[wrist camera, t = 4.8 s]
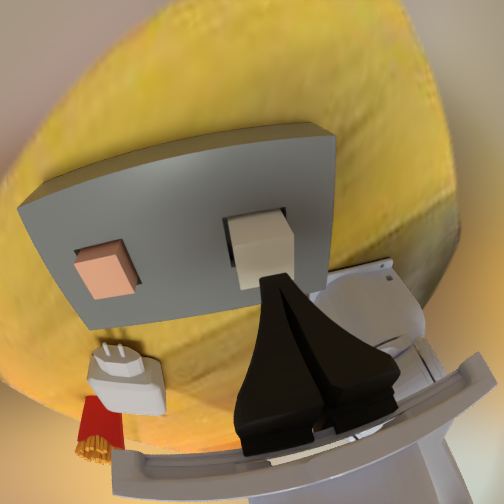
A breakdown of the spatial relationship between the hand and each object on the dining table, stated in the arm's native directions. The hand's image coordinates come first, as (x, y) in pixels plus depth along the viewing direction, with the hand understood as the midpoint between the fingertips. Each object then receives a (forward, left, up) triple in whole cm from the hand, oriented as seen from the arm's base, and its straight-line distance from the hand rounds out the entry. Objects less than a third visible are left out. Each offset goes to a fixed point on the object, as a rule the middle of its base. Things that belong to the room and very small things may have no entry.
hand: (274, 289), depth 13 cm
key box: (+5, 0, -8) cm, 10 cm away
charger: (+17, +18, -9) cm, 27 cm away
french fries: (+29, +30, -9) cm, 43 cm away
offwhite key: (0, 0, -5) cm, 5 cm away
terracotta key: (+10, 0, -6) cm, 12 cm away
